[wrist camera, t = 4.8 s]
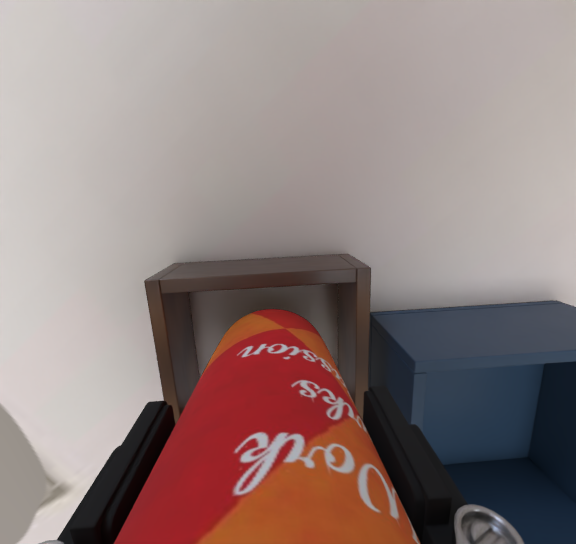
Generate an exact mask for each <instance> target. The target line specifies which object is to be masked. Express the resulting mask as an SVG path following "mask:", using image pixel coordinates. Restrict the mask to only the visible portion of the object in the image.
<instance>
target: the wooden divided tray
mask: <svg viewBox="0 0 576 544" xmlns="http://www.w3.org/2000/svg"><path fill="white" fill-rule="evenodd" d="M335 283H338V371H339V373H340V375H341V377H342V379H343V381H344V383H345V385H346V387H347V389H348V391H349V394H350V396H351V398H352V400H353V402H354V404H355V406H356V408H357V410H358V412H359V415H360V417H361V419H362V421H363V404H364V392H365V391H368V371H369V328H370V285H371V268H370V267H369V266H367V265H366V264H364V263H362V262H361V261H359V260H357V259H356V258H354V257H353V256H351V255H349V254H338V255H320V256H301V257H282V258H264V259H245V260H226V261H208V262H189V263H174V264H172V265H170V266H168V267H167V268H165V269H163V270H162V271H160V272H158V273H156V274H155V275H153V276H151V277H150V278H148V279H146V280H145V288H146V294H147V300H148V306H149V312H150V318H151V324H152V330H153V336H154V342H155V349H156V355H157V361H158V367H159V373H160V379H161V385H162V391H163V397H164V401H166V402H167V404H168V405H172V407H173V413H174V419H175V424H176V423H177V421H178V419H179V418H180V416H181V414H182V412H183V410H184V408H185V406H186V404H187V402H188V400H189V398H190V397H191V395H192V393H193V391H194V389H195V387H196V385H197V383H198V381H199V371H198V364H197V356H196V348H195V341H194V333H193V325H192V318H191V310H190V302H189V295H188V292H198V291H215V290H232V289H249V288H267V287H284V286H301V285H318V284H335Z"/></svg>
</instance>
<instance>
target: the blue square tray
mask: <svg viewBox="0 0 576 544" xmlns="http://www.w3.org/2000/svg"><path fill="white" fill-rule="evenodd" d="M372 386H386V387H387V389H388V390H389V392H390V394H391V396H392V397H393V399H394V401H395V402H396V404H397V406H398V407H399V409H400V411H401V412H402V414H403V416H404V417H405V419H406V421H407V422H408V424H416V425H417V426H418V427H419V428H420V430H421V431H422V433H423V434H424V436H425V437H426V439H427V441H428V442H429V444H430V445H431V447H432V448H433V450H434V452H435V453H436V455H437V456H438V458H439V459H440V461H441V463H442V464H443V466H444V467H445V469H446V470H447V472H448V474H449V475H450V477H451V478H452V480H453V482H454V483H455V485H456V486H457V488H458V489H459V491H460V493H461V494H462V496H463V497H464V499H465V500H466V502H467V504H468V505H471V504H474V505H479V506H483V507H485V508H488V509H490V510H492V511H494V512H495V513H497V514H498V515H500V516H501V517H503V518H504V519H505V520H506V521H507V522H508V523H510V524H511V525H512V526H513V527H514V528H515V530H516V531H517V532H518V534H519V535H520V536H521V538H522V539H523V542H524V544H576V307H574V306H571V305H568V304H565V303H562V302H559V301H544V302H528V303H512V304H497V305H481V306H465V307H449V308H434V309H418V310H402V311H387V312H371V313H370V328H369V371H368V389H369V387H372Z"/></svg>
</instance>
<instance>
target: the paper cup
mask: <svg viewBox="0 0 576 544" xmlns="http://www.w3.org/2000/svg"><path fill="white" fill-rule="evenodd" d="M114 544H421V543H420V541H419V539H418V537H417V535H416V533H415V531H414V529H413V526H412V524H411V522H410V520H409V518H408V516H407V514H406V512H405V509H404V507H403V505H402V503H401V501H400V499H399V497H398V495H397V493H396V490H395V488H394V486H393V484H392V482H391V480H390V478H389V476H388V474H387V471H386V469H385V467H384V465H383V463H382V461H381V459H380V457H379V454H378V452H377V450H376V448H375V446H374V444H373V442H372V440H371V438H370V435H369V433H368V431H367V429H366V427H365V425H364V423H363V421H362V419H361V417H360V415H359V412H358V410H357V408H356V406H355V404H354V402H353V400H352V398H351V396H350V394H349V391H348V389H347V387H346V385H345V383H344V381H343V379H342V377H341V375H340V373H339V371H338V369H337V367H336V365H335V362H334V360H333V358H332V356H331V354H330V352H329V350H328V349H327V347H326V345H325V343H324V341H323V339H322V338H321V336H320V334H319V333H318V331H317V330H316V329H315V328H314V327H313V325H312V324H311V323H310V322H308V321H307V320H306V319H304V318H303V317H301V316H299V315H297V314H295V313H293V312H290V311H286V310H281V309H265V310H259V311H255V312H252V313H250V314H248V315H246V316H244V317H242V318H241V319H239V320H238V321H236V322H235V323H234V324H233V325H232V326H231V327H230V328H229V329H228V331H227V332H226V333H225V335H224V336H223V338H222V339H221V341H220V343H219V344H218V346H217V348H216V350H215V352H214V353H213V355H212V357H211V359H210V361H209V363H208V364H207V366H206V368H205V370H204V372H203V374H202V376H201V378H200V379H199V381H198V383H197V385H196V387H195V389H194V391H193V393H192V395H191V397H190V398H189V400H188V402H187V404H186V406H185V408H184V410H183V412H182V414H181V416H180V418H179V419H178V421H177V423H176V425H175V427H174V429H173V431H172V433H171V435H170V437H169V438H168V440H167V442H166V444H165V446H164V448H163V450H162V452H161V454H160V456H159V458H158V460H157V462H156V463H155V465H154V467H153V469H152V471H151V473H150V475H149V477H148V479H147V481H146V483H145V485H144V486H143V488H142V490H141V492H140V494H139V496H138V498H137V500H136V502H135V504H134V506H133V508H132V510H131V511H130V513H129V515H128V517H127V519H126V521H125V523H124V525H123V527H122V529H121V531H120V533H119V535H118V536H117V538H116V540H115V542H114Z"/></svg>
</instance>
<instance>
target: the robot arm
mask: <svg viewBox="0 0 576 544" xmlns="http://www.w3.org/2000/svg"><path fill="white" fill-rule="evenodd" d="M363 423H364V425H365V427H366V429H367V431H368V433H369V435H370V438H371V440H372V442H373V444H374V446H375V448H376V450H377V452H378V454H379V457H380V459H381V461H382V463H383V465H384V467H385V469H386V471H387V474H388V476H389V478H390V480H391V482H392V484H393V486H394V488H395V490H396V493H397V495H398V497H399V499H400V501H401V503H402V505H403V507H404V509H405V512H406V514H407V516H408V518H409V520H410V522H411V524H412V526H413V529H414V531H415V533H416V535H417V537H418V539H419V541H420V543H421V544H524V542H523V539H522V538H521V536H520V535H519V534H518V532H517V531H516V530H515V528H514V527H513V526H512V525H511V524H510V523H508V522H507V521H506V520H505V519H504V518H503V517H501V516H500V515H498V514H497V513H495V512H494V511H492V510H490V509H488V508H485V507H483V506H479V505H474V504H471V505H468V504H467V502H466V500H465V499H464V497H463V496H462V494H461V493H460V491H459V489H458V488H457V486H456V485H455V483H454V482H453V480H452V478H451V477H450V475H449V474H448V472H447V470H446V469H445V467H444V466H443V464H442V463H441V461H440V459H439V458H438V456H437V455H436V453H435V452H434V450H433V448H432V447H431V445H430V444H429V442H428V441H427V439H426V437H425V436H424V434H423V433H422V431H421V430H420V428H419V427H418V426H417V425H416V424H408V422H407V421H406V419H405V417H404V416H403V414H402V412H401V411H400V409H399V407H398V406H397V404H396V402H395V401H394V399H393V397H392V396H391V394H390V392H389V390H388V389H387V387H386V386H372V387H369V389H368V391H365V392H364V404H363ZM175 425H176V424H175V419H174V413H173V407H172V405H168V404H167V402H166V401H155V402H148V403H147V405H146V406H145V408H144V409H143V411H142V413H141V414H140V416H139V417H138V419H137V421H136V422H135V424H134V425H133V427H132V429H131V430H130V432H129V433H128V435H127V437H126V438H125V440H124V442H123V443H122V445H121V446H119V447H117V448H116V449H115V450H114V451H113V453H112V454H111V456H110V457H109V459H108V460H107V462H106V464H105V465H104V467H103V468H102V470H101V471H100V473H99V475H98V476H97V478H96V479H95V481H94V482H93V484H92V486H91V487H90V489H89V490H88V492H87V493H86V495H85V497H84V498H83V500H82V501H81V503H80V504H79V506H78V508H77V509H76V511H75V512H74V514H73V515H72V517H71V519H70V520H69V522H68V523H67V525H66V526H65V528H64V530H63V531H62V533H61V534H60V536H59V537H58V539H57V540H49V541H45V542H42V543H39V544H114V542H115V540H116V538H117V536H118V535H119V533H120V531H121V529H122V527H123V525H124V523H125V521H126V519H127V517H128V515H129V513H130V511H131V510H132V508H133V506H134V504H135V502H136V500H137V498H138V496H139V494H140V492H141V490H142V488H143V486H144V485H145V483H146V481H147V479H148V477H149V475H150V473H151V471H152V469H153V467H154V465H155V463H156V462H157V460H158V458H159V456H160V454H161V452H162V450H163V448H164V446H165V444H166V442H167V440H168V438H169V437H170V435H171V433H172V431H173V429H174V427H175Z"/></svg>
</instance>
